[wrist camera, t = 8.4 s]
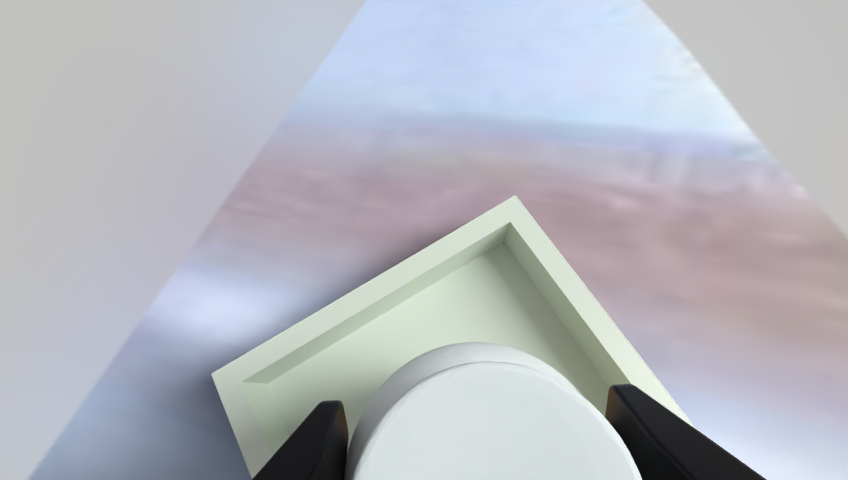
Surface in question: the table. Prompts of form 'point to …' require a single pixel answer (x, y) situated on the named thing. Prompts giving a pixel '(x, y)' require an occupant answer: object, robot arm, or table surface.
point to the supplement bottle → (483, 422)
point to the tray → (433, 331)
